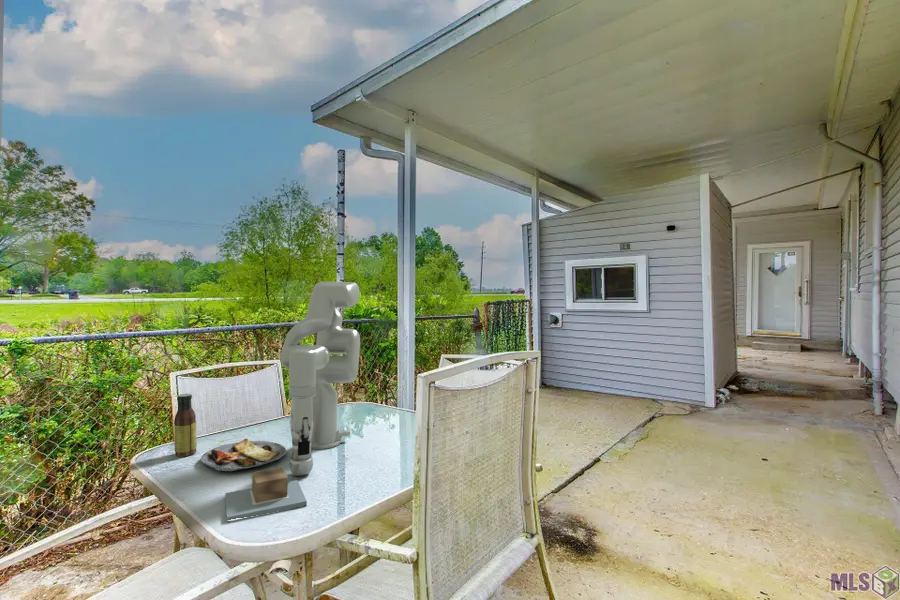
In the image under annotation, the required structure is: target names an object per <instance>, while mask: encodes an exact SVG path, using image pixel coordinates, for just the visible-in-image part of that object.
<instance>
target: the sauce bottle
mask: <svg viewBox="0 0 900 600" xmlns="http://www.w3.org/2000/svg"><path fill="white" fill-rule="evenodd" d="M192 399H193V395H192V393H182V394H178V395H177V401H178V402H177V405H178V406H177V411H176V414H175V416H174V420H173V425H174V426H173V430H174V432H173V433H174V452H175V456H176V457H182V458H184V457H188V456H192V455H194V454H195V453H196V452H197V441H198V440H197V421H196V420H197V418H196V412H195V411H194V408H193V405H192Z"/></svg>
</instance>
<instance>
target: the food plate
mask: <svg viewBox="0 0 900 600" xmlns="http://www.w3.org/2000/svg"><path fill="white" fill-rule="evenodd" d="M286 453H287V449H286V446H284V445H283V444H280V443H277V442H273V441H265V440H252V441H251V440H249V438H244V439H243V440H241V441H239V442H234V443H228V444H223V445H221V446H217V447H215V448H212V449H210V450H208V451H206V452H204V453H202V455H201V458H200V462H201V463H203V464H204V465H206V466H207V467H210V468H211V469H214V470H216V471H222V472H223V471H225V472H233V471H239V470H243V469H244V470H245V469H251V468H254V467H260V466H262V465H267V464H270V463H272V462H274V461H277V460H280V459H281V458H282V457H283V456H285V454H286ZM257 463H258V464H257ZM259 463H260V464H259Z"/></svg>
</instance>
